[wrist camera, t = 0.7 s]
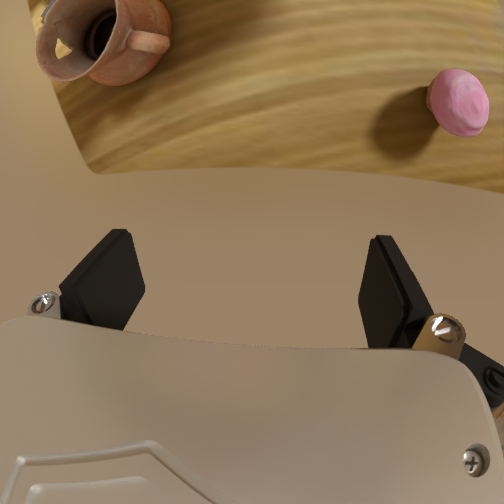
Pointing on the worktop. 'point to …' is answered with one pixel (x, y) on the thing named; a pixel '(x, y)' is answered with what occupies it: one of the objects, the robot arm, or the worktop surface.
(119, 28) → the ceramic jug
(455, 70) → the cupcake
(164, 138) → the worktop surface
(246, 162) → the worktop surface
